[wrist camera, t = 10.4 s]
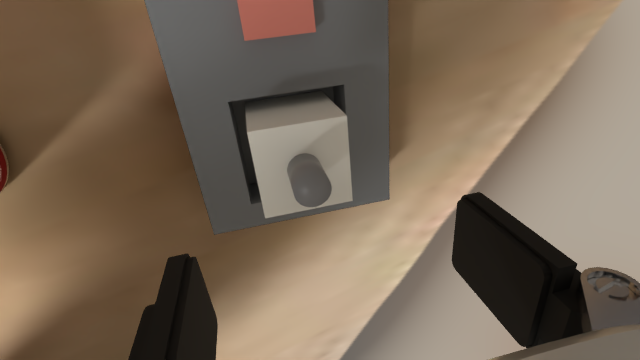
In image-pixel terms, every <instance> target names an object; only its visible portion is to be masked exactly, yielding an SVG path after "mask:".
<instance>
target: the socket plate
mask: <svg viewBox="0 0 640 360" xmlns="http://www.w3.org/2000/svg"><path fill="white" fill-rule="evenodd" d="M144 1H145V4H146V8H147V11H148V14H149V18H150V21H151V24H152V28H153V31H154V34H155V38H156V41H157V45H158V48H159V51H160V55H161V58H162V61H163V65H164V68H165V71H166V75H167V78H168V81H169V85H170V88H171V91H172V95H173V98H174V101H175V105H176V108H177V111H178V115H179V118H180V122H181V125H182V128H183V132H184V135H185V138H186V142H187V145H188V148H189V152H190V155H191V158H192V162H193V165H194V168H195V172H196V175H197V178H198V182H199V185H200V188H201V192H202V195H203V199H204V202H205V205H206V209H207V212H208V215H209V219H210V222H211V225H212V229H213V232H214V235H215V234H220V233H225V232H230V231H235V230H240V229H245V228H250V227H255V226H260V225H265V224H270V223H275V222H280V221H285V220H290V219H295V218H299V217H304V216H309V215H314V214H319V213H324V212H329V211H334V210H339V209H344V208H349V207H354V206H359V205H364V204H369V203H374V202H379V201H384V200H389V57H388V0H144ZM318 91H322V92H323V93H324V94H325V95H326V96H327V97H328V98H329V99H330V100H331V101H332V102H333V103H334V104H335V105H336V106H338V107H339V108H340V109H341V110H342V111H343V112H344V113H345V114H346V115H347V124H348V139H349V154H350V169H351V183H352V198H353V201H349V202H344V203H339V204H334V205H330V206H325V207H320V208H315V209H310V210H305V211H300V212H295V213H290V214H285V215H280V216H275V217H270V218H265V215H264V211H263V206H262V201H261V196H260V192H259V187H258V182H257V178H256V173H255V168H254V163H253V159H252V154H251V149H250V144H249V140H248V135H247V126H246V111H245V103H246V102H252V101H259V100H265V99H272V98H278V97H285V96H292V95H298V94H305V93H311V92H318Z"/></svg>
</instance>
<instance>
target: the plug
mask: <svg viewBox="0 0 640 360" xmlns="http://www.w3.org/2000/svg"><path fill="white" fill-rule="evenodd" d="M245 111H246V126H247V135H248V140H249V144H250V149H251V154H252V159H253V163H254V168H255V173H256V178H257V182H258V187H259V192H260V196H261V201H262V206H263V211H264V215H265V218H270V217H275V216H280V215H285V214H290V213H295V212H300V211H305V210H310V209H315V208H320V207H325V206H330V205H334V204H339V203H344V202H349V201H353V198H352V183H351V169H350V154H349V139H348V124H347V115H346V114H345V113H344V112H343V111H342V110H341V109H340V108H339V107H338V106H336V105H335V104H334V103H333V102H332V101H331V100H330V99H329V98H328V97H327V96H326V95H325V94H324V93H323V92H322V91H318V92H311V93H305V94H298V95H292V96H285V97H278V98H272V99H265V100H259V101H252V102H246V103H245Z"/></svg>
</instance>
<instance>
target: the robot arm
mask: <svg viewBox="0 0 640 360" xmlns="http://www.w3.org/2000/svg"><path fill="white" fill-rule="evenodd" d="M452 263H453V266H454V268H455V270H456V271H457V272H458V273H459V274H460V275H461V277H462V278H463V279H464V280H465V281H466V283H468V285H469V286H470V287H471V288H472V290H473V291H474V292H475V293H476V294H477V295H478V297H479V298H480V299H481V300H482V301H483V302H484V304H485V305H486V306H487V307H488V308H489V310H490V311H491V312H492V313H493V314H494V315H495V317H496V318H497V319H498V320H499V321H500V323H501V324H502V325H503V326H504V327H505V328H506V330H507V331H508V332H509V333H510V334H511V335H512V337H513V338H514V339H515V340H516V341H517V342H518V343H519V344H520V345H521V346H523V347H526V348H527V349H524V350H520V351H517V352H513V353H510V354H506V355H503V356H499V357H495V358H492V359H489V360H640V283H639V282H638V281H636V280H635V279H633V278H631V277H630V276H628V275H626V274H624V273H621V272H619V271H616V270H612V269H608V268H601V267H596V268H595V267H594V268H588V269H586V270H584V271H583V272H582V273H581V272H579V271H578V270H577V269H576V266H577V263H576V262H574V261H573V260H571V259H570V258H568V257H567V256H566V255H564V254H563V253H562V252H561V251H559V250H558V249H556V248H555V247H554V246H553V245H551V244H550V243H548V242H547V241H546V240H544V239H543V238H542V237H540V236H539V235H538V234H536V233H535V232H534V231H532V230H531V229H529V228H528V227H527V226H525V225H524V224H523V223H521V222H520V221H519V220H517V219H516V218H515V217H513V216H511V214H509V213H508V212H506V211H505V210H504V209H502V208H501V207H500V206H498V205H497V204H496V203H494V202H493V201H492V200H490V199H489V198H487V197H486V196H485V195H483V194H482V193H480V192H477V193H472V194H468V195H464V196H462V198H461V200H459V201H458V203H457V211H456V222H455V232H454V242H453V254H452ZM216 344H217V318H216V314H215V311H214V308H213V305H212V302H211V299H210V297H209V294H208V291H207V288H206V285H205V282H204V279H203V276H202V273H201V270H200V267H199V264H198V261H197V259H196V257H191V258H190V256H189V254H183V255H178V256H174V257H169V258H168V260H167V264H166V267H165V271H164V275H163V278H162V282H161V285H160V289H159V293H158V296H157V300H156V303H155V304H153V305H149V306H147V307H146V308H145V309H144V312H143V314H142V317H141V321H140V324H139V327H138V330H137V334H136V337H135V340H134V343H133V346H132V350H131V353H130V356H129V359H128V360H216Z"/></svg>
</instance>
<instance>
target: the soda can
mask: <svg viewBox="0 0 640 360" xmlns="http://www.w3.org/2000/svg"><path fill="white" fill-rule="evenodd" d="M8 176H9V164H8V160H7V156H6V154H5V151H4V149H3V147H2V146H1V144H0V193H1V191H2V190H3V189H4V187H5V185H6V183H7V180H8Z"/></svg>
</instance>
